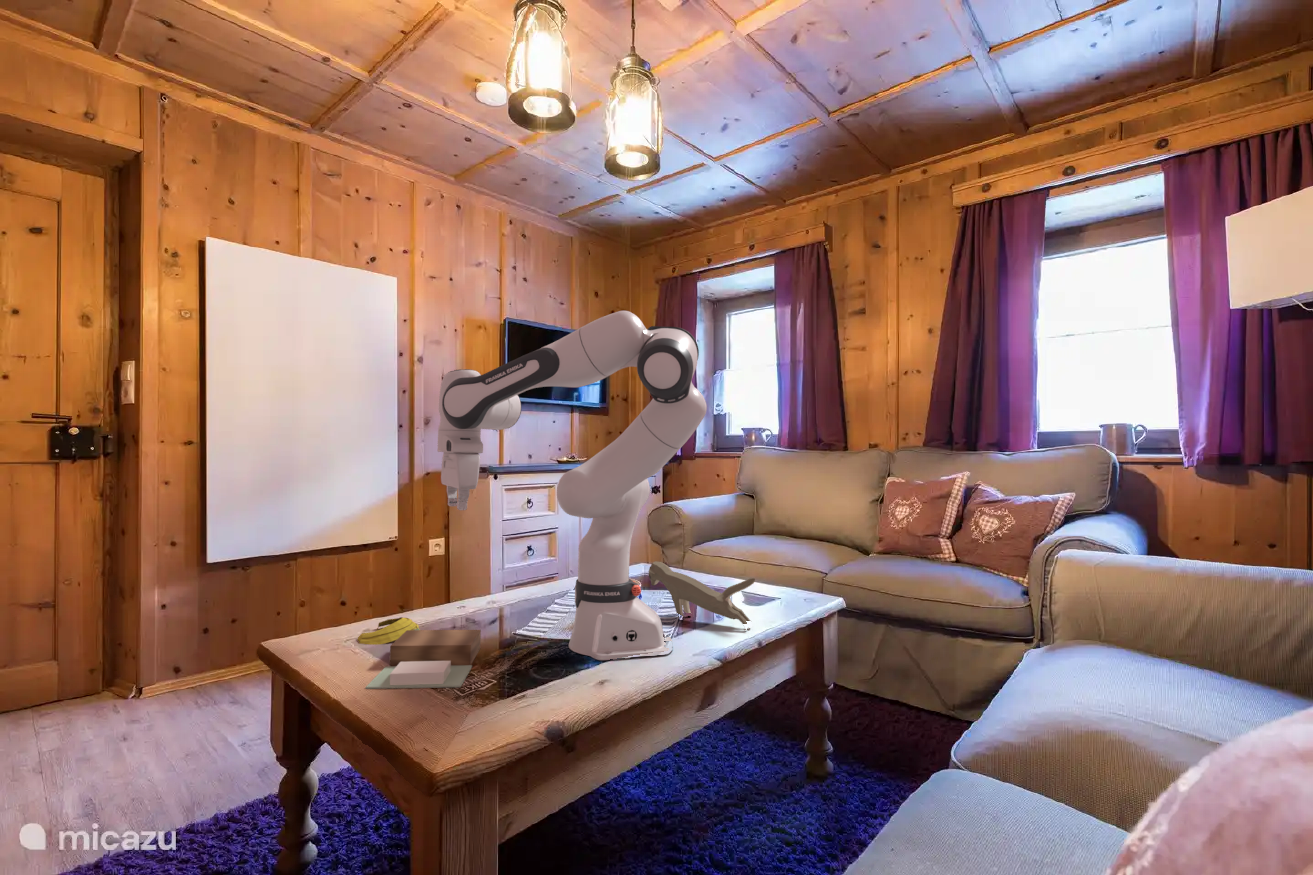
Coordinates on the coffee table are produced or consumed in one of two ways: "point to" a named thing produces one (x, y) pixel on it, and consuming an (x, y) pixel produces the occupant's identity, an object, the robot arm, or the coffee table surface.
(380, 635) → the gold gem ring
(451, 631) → the wooden block
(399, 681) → the tile
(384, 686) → the mat
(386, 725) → the coffee table surface
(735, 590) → the sculpture
